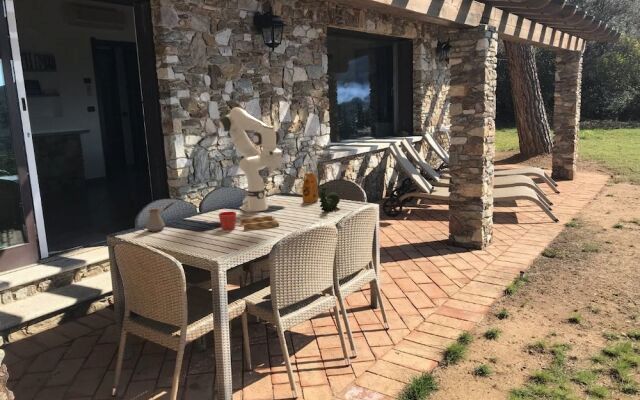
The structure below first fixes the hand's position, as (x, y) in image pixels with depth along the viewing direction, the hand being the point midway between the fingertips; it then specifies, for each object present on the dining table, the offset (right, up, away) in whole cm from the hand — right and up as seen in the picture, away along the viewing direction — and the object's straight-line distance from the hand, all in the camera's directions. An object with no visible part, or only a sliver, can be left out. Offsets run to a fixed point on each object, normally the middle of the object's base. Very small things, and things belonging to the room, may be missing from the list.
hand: (271, 173), depth 317 cm
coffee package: (+24, -18, +63) cm, 70 cm away
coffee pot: (-69, -35, 0) cm, 78 cm away
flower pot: (-26, -35, -9) cm, 44 cm away
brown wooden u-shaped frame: (-8, -33, -4) cm, 34 cm away
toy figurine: (+38, -24, +32) cm, 55 cm away
